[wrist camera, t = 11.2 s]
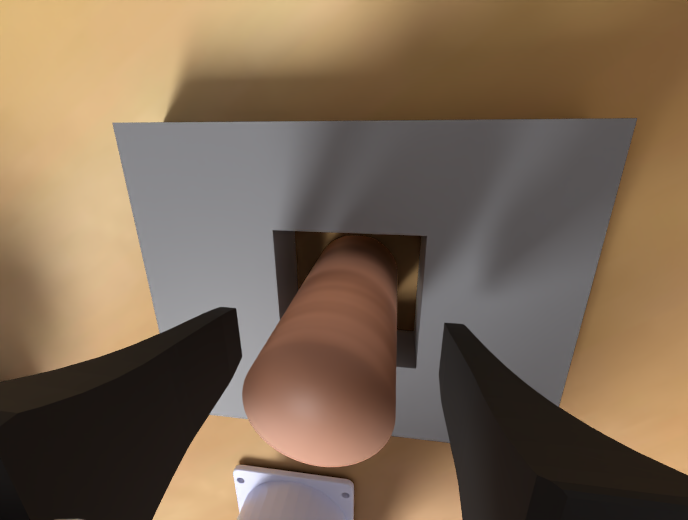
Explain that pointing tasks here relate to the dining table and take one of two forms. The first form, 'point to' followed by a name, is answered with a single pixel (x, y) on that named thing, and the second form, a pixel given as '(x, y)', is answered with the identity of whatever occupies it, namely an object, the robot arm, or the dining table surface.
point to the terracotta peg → (331, 360)
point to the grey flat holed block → (384, 230)
